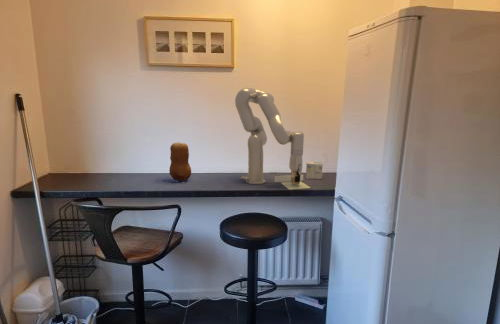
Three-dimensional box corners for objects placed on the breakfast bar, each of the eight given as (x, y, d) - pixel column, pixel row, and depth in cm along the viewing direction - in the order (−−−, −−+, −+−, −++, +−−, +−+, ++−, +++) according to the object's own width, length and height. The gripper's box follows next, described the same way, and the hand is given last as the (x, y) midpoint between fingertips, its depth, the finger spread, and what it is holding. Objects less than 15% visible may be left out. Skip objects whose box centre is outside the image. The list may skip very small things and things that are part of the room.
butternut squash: (190, 177, 211) (189, 140, 206) (192, 182, 198) (191, 143, 193) (169, 178, 208) (168, 141, 202) (169, 183, 195) (168, 144, 190)
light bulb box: (320, 176, 216) (321, 161, 214) (322, 179, 210) (323, 163, 207) (305, 176, 217) (306, 161, 215) (306, 178, 211) (306, 163, 208)
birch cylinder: (293, 184, 191) (293, 171, 189) (289, 181, 196) (290, 169, 194) (301, 183, 192) (302, 171, 190) (297, 181, 197) (298, 169, 195)
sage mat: (289, 189, 186) (289, 189, 186) (280, 183, 199) (280, 182, 199) (310, 188, 189) (310, 187, 189) (301, 182, 203) (301, 181, 203)
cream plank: (274, 182, 201) (275, 176, 200) (274, 182, 202) (274, 176, 201) (303, 180, 206) (303, 174, 206) (302, 180, 207) (303, 174, 206)
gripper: (285, 150, 197) (284, 177, 201) (296, 155, 181) (295, 184, 185) (296, 149, 199) (295, 176, 203) (308, 154, 183) (306, 184, 186)
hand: (295, 180), depth 194 cm, fingers closed on birch cylinder, 5 cm apart
